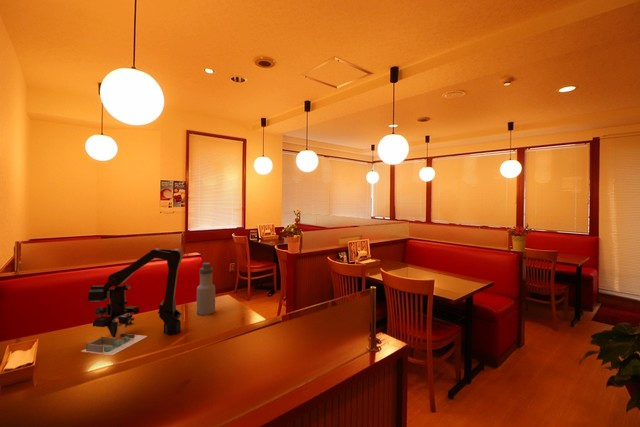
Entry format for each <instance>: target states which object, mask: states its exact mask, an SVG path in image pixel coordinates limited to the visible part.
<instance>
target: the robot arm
mask: <svg viewBox="0 0 640 427" xmlns="http://www.w3.org/2000/svg"><path fill="white" fill-rule="evenodd" d="M183 257H184V252H183V250H181V249H180V248H173V249H165V248H163V249H162V248H154V249H151V250H150V251H148V252H147V253H146V254H144V255H143V256H141V257H139V258H138V259H137V260H135V261H134V262H132V263H131V264H129V265H127V266H126V267H123V268H122V269H120V270H118V271H115V272H113V273H111V274H110V275H109V276H108V277H107V282H106V283H105V284H104V285H92V286H90V290H88V295H87V301H88V302H89V303H93V302H96V303H97V302H106V301H107V299H109V302H108V303H106V307H102V306H99V307H95V308H94V314H95V316H99V317H98V318H95V319H94V320H93V321H92V327H97V328H106V327H107V329H108V331H109V334H110V333H111V335H112V337H115V335H116V331H117V326H118V321H119V323H121V324H125V329H126V328H127V326H128V325H129V324H128V323H129V322H130V319H131V318H134V317H133V316H130V314H132V315H136V314H138V313H140V308H139V307H138V306H134V305H129V306H126V304H127V305H128V300H126V291H128V290H130V289H131V286H130V285H128V284H127V283H125V282H126V281H127V280H128V279H130V278H131V277H132V276H133V274H134V273H135V272H137V271H138V270H140V269H141V268H143V267H144V266H146V265H147V264H148V263H151V261H153V260H154V259H159V260H164V261H166V262H167V263H166V264H167V269H168V272H167V279H166V285H165V286H166V287H165V293H164V294H165V295H164V300H162V301H161V302H160V303H159V305H158V312H157V315H158V314H159V316H158V317H159V319H160V320H161V321H163V323H164V324H163V334H165V335H166V336H173V335H178V334H179V333H181V327H182V326H181V325H182V324H181V323H182V322H181V320H180V318H181V315H182V313H181V312H180V310H177V303H176V298H175V297H176V289H177V282H178V274H179V268H180V266H181V263H182V261H183ZM124 283H125V284H124ZM122 284H123V285H122ZM104 315H105V316H104ZM116 320H118V321H116ZM127 324H128V325H127Z"/></svg>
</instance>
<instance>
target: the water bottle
mask: <svg viewBox="0 0 640 427" xmlns="http://www.w3.org/2000/svg"><path fill="white" fill-rule="evenodd" d="M213 271H214V268H213V267H211V262H203V263H202V267H201V268H199V285H198V286H197V287H196V314H197V315H199V316H208V315H209V316H210V315H211V314H214V313H215V312H216V286H215V284H213V273H214V272H213Z"/></svg>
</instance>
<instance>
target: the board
mask: <svg viewBox="0 0 640 427" xmlns="http://www.w3.org/2000/svg"><path fill="white" fill-rule="evenodd" d="M132 335H135V337H134V338H129V341H128V342H126V343H124V344H122V345H120V346H118V347H117V348H115V349H113V350H111V351H109V352H105V351H104V347H105V346H110V347H112V346H113V345H107V344H101V345H103V352H94V351H86V348H85V349H82V350H80V352H82V353H88V354H90V353H91V354H97V355H98V354H99V355H105V356H114V355H116V354H117V353H120V352H121V351H123V350H125V349H127V348H128V347H129V348H130V347H131V346H132V345H135V344H136V343H138V342H139V341H141V340H143V339H145V338H147V337H148V336H147V335H142V334H141V335H140V334H132ZM116 341H121V342H122V341H124V337H122V338H120V339H116Z"/></svg>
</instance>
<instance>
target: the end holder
mask: <svg viewBox="0 0 640 427" xmlns="http://www.w3.org/2000/svg"><path fill="white" fill-rule="evenodd" d="M115 341H116V339H115V338H110V337H103V336H101V337H100V338H96V339H95V340H93V341H91V342H88V343H85V346H86V347H85V349H86V351H94V352H103V345H101V344H107V345H113V342H115Z"/></svg>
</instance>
